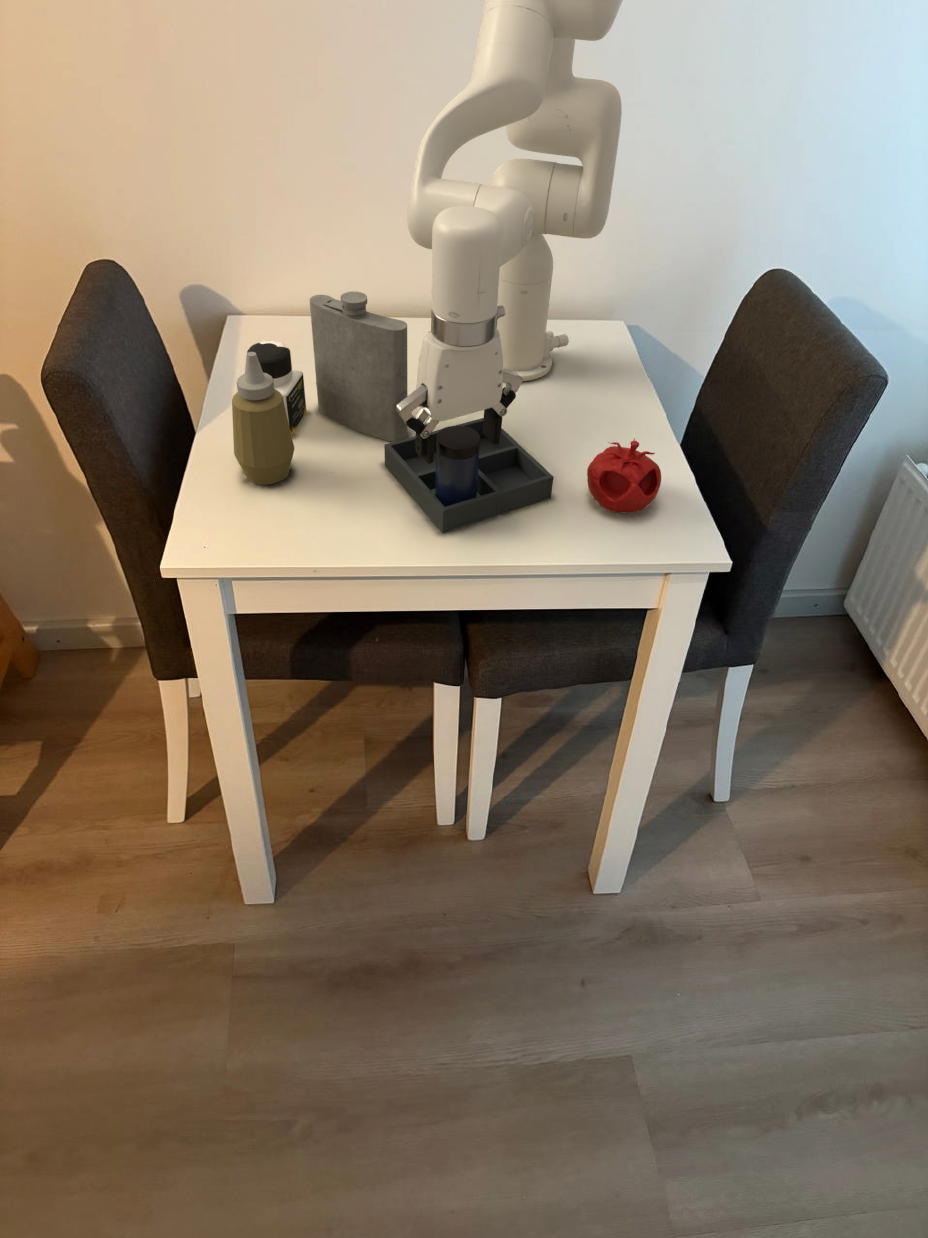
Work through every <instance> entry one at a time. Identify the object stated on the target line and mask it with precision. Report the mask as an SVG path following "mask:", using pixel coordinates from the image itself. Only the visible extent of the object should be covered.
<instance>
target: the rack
mask: <svg viewBox="0 0 928 1238" xmlns="http://www.w3.org/2000/svg"><path fill="white" fill-rule="evenodd" d="M483 420H484V417H481V418H477V419H474V420H473V419H472V420H469V421H466V422H462V423H458V424H455V425H454V426H465V427H469V428H472V429H474V430H475V431H476V432H478V434H479V435H480V453H479V468H478V484H477V497H476V498H473V499H470V500H466V501H463V502H460V503H456V504H453V505H450V506H447V507H445V506H444V505H443V504H442V503H441V502H440V501H439V500H438V499H437V497H436V496H435V472H436V436H437V433H438V432H439V431H440V430H441V429H442V428H440V429H437V430H433V431H432V432H431V435H432V436H433V437H434V462H433V463H431V464H428V463H427V462H426V461H425V460H424V459H423V458H422V457H420V456H419V455H418V454H417V452H416V435H414V436H410V437H407V438H406V439H403V440H399V441H395V442H392V441H390V442H388V443H384V444H383V445H384V446H383V447H384V448H383V449H384V467H385V468H386V469H387V470H388V471H389V473H390V474H391V475H392V476H393V478H395V480H396V481H397V482H398V483H399V484H400V486H401V487H402V488H403V490H405V491H406V493H408V495H409V496H410V497H411V498H412V500H413V501H415V503H416V504H417V506H418V507H419V508H420V509H421V510H422V511H423V512H424V514H425V515H426V516H427V517H428V518H429V519H430V521H431V522H432V523H433V524H434V526H436V528H437V529H438V530H439V531H440V532H441V534H444V533H447V532H449V531H450V532H451V531H453V530H456V529H459V528H460V529H461V528H462V527H463V528H464V527H466V526H469V525H472V524H475V523H478V522H481V521H484V520H488V519H491V518H494V517H497V516H501V515H503V514H506V513H510V512H513V511H516V510H519V509H522V508H525V507H529V506H531V505H534V504H537V503H540V502H544V501H547V500H550V499H552V494H553V493H552V492H553V487H554V486H553V485H554V481H555V480H554V479H555V476H554V475H552V473H550V472H549V470H548V469H547V468H545V467H544V466H543V465H542V464H541V463H540V462H539V461H538V460H536V459H535V457H533V456H532V455H531V454H530V453H529V452H528V451H527V449H525V448H524V447H522V445H521V444H520V443H519V442H518V441H516V440H515V439H514V438H513V437H512V436H511V435H510V434H509V433H508V432H507V431H506V430H504V428H502V429H501V433H500V441H499V444H493V443H492V442H491V441H490V440H489V439H488V438H487V437H486V436H485V435H484V434H483Z"/></svg>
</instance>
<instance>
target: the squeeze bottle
mask: <svg viewBox="0 0 928 1238" xmlns="http://www.w3.org/2000/svg"><path fill="white" fill-rule="evenodd" d="M244 367H245V368H244V373H243V374H241V375H240V376H239V377H238V378H237V379H236V382H235V383H236V388H237V389H236V390H237V392H236V393H234V394H233V395H232V399H231V413H232V415H231V416H232V436H233V454H234V455H233V456H234V458H235V459H236V461H237V463H238V464H239V466H240V468H241V470H242V471H243V473H244V475H245V477H246V478H247V480H249V481H250V482H252V483H253V484H257V485H272V484H273V485H274V484H277V483H279V482H281V481H283V480H285V479H286V478H287V476H288V475H289V472H290V469H291V464H292V461H293V457H294V452H295V445H294V441H293V437H292V436H293V435H292V436H291V432H290V427H289V423H288V419H287V414H286V410H285V405H284V401H283V397H282V395H281V393H280V392H279V391H277V390H276V389H274V381H273V378H272V376H270V375H269V374H267V373H263V371H262V368H261V366H260V363H259V360H258V358H257V355H256V353H255V352H248V353H247V352H246V357H245V366H244Z"/></svg>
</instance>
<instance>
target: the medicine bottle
mask: <svg viewBox="0 0 928 1238" xmlns="http://www.w3.org/2000/svg"><path fill="white" fill-rule="evenodd" d="M248 352H255V353H256V355H257V358H258V360H259V363H260V366H261V368H262V371H263V373H267V374H269V375H270V376H272V378H273V381H274V389H276V390H277V391H279V392H280V393H281V395H282V397H283V401H284V405H285V410H286V414H287V419H288V423H289V427H290V432H291V436H293V435H294V433H295V431H296V430H297V428H298V427H299V425H300V424H301V422H302V420H303V419H304V417H305V416H306V414H307V412H308V411H307V403H306V402H307V401H306V392H305V391H306V390H305V381H304V380H305V379H304V372H303V371H302V370H298V369H293V363H292V355H291V354H292V353H291V349H290V348H289V347H288V345H286V344H285V343H283V342H280V341H277V340H276V341H274V340H264V341H260V342H256V343H254V344H252V345H251V346H250V347H249V348H248V349H247V351H246V354H247V353H248Z"/></svg>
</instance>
